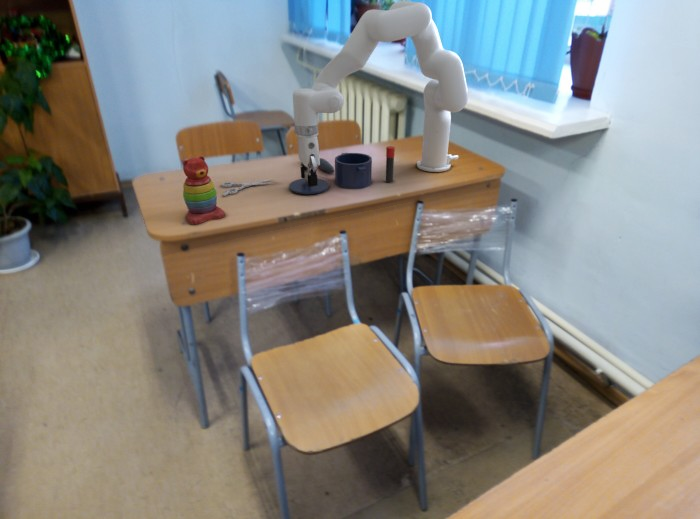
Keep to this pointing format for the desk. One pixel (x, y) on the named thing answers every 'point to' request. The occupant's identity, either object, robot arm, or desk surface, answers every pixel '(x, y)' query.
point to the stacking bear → (199, 192)
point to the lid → (303, 188)
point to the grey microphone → (326, 166)
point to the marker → (389, 163)
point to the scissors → (240, 185)
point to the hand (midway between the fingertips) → (309, 181)
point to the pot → (353, 170)
